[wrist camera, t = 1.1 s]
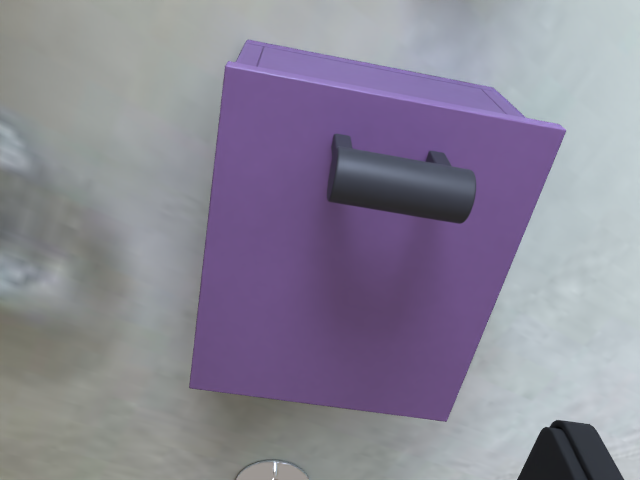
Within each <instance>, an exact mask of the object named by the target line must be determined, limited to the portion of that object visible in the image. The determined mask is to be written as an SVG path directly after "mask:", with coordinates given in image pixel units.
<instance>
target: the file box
mask: <svg viewBox="0 0 640 480" xmlns="http://www.w3.org/2000/svg"><path fill="white" fill-rule="evenodd" d="M235 63H241V64H246V65H251V66H256V67H262V68H267V69H272V70H277V71H283V72H288V73H293V74H298V75H304V76H309V77H314V78H319V79H325V80H330V81H335V82H340V83H346V84H351V85H356V86H361V87H366V88H372V89H377V90H382V91H387V92H393V93H398V94H403V95H408V96H414V97H419V98H424V99H429V100H435V101H440V102H445V103H450V104H456V105H461V106H466V107H471V108H477V109H482V110H487V111H492V112H497V113H503V114H508V115H513V116H518V117H524V118H526V117H525V116H524V115H522V114H521V113H520V112H519V111H518V110H517V109H516V108H515V107H514V106H513V105H512V104H511V103H510V102H508V101H507V100H506V99H505V98H504V97H503V96H502V95H501V94H500V93H499V92H497V91H496V90H495V89H494V88H492V87H487V86H482V85H477V84H472V83H467V82H462V81H457V80H451V79H446V78H441V77H436V76H431V75H426V74H421V73H416V72H411V71H405V70H400V69H395V68H390V67H385V66H380V65H375V64H370V63H365V62H359V61H354V60H349V59H344V58H339V57H334V56H329V55H324V54H318V53H313V52H308V51H303V50H298V49H293V48H288V47H283V46H278V45H272V44H267V43H262V42H257V41H252V40H247V41H246V43H245V45H244V47H243V49H242V50H241V52H240V54H239V56H238V58H237V60H236V62H235Z"/></svg>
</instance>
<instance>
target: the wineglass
mask: <svg viewBox="0 0 640 480" xmlns="http://www.w3.org/2000/svg"><path fill="white" fill-rule="evenodd" d="M236 480H310V479H309V477H308V475H307V474H306V473H305V472H304V471H303V470H302V469H301V468H299V467H298V466H296V465H294V464H291V463H289V462H285V461H279V460H265V461H260V462H256V463H253V464H251V465H249V466H247V467H246V468H244V469H243V470H242V471H241V472H240V473H239V474H238V476H237V478H236Z"/></svg>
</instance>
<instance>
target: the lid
mask: <svg viewBox="0 0 640 480" xmlns="http://www.w3.org/2000/svg"><path fill="white" fill-rule="evenodd" d="M565 133H566V130H565V129H564V128H563V127H562V126H561V125H559V124H555V123H550V122H545V121H539V120H534V119H529V118H524V117H518V116H513V115H508V114H503V113H497V112H492V111H487V110H482V109H477V108H471V107H466V106H461V105H456V104H450V103H445V102H440V101H435V100H429V99H424V98H419V97H414V96H408V95H403V94H398V93H393V92H387V91H382V90H377V89H372V88H366V87H361V86H356V85H351V84H346V83H340V82H335V81H330V80H325V79H319V78H314V77H309V76H304V75H298V74H293V73H288V72H283V71H277V70H272V69H267V68H262V67H256V66H251V65H246V64H241V63H235V62H230V61H228V62H227V64H226V66H225V73H224V81H223V90H222V99H221V108H220V117H219V126H218V135H217V144H216V153H215V162H214V171H213V180H212V188H211V197H210V206H209V215H208V224H207V233H206V242H205V251H204V260H203V269H202V278H201V287H200V296H199V304H198V313H197V322H196V331H195V340H194V349H193V358H192V367H191V376H190V385H189V388H192V389H199V390H207V391H215V392H222V393H230V394H238V395H245V396H253V397H261V398H268V399H276V400H284V401H291V402H299V403H307V404H315V405H322V406H330V407H338V408H345V409H353V410H361V411H368V412H376V413H384V414H391V415H399V416H407V417H414V418H422V419H430V420H437V421H445V422H446V421H447V419H448V417H449V414H450V412H451V410H452V407H453V405H454V402H455V400H456V397H457V395H458V393H459V390H460V388H461V385H462V383H463V380H464V378H465V376H466V373H467V371H468V368H469V366H470V363H471V361H472V359H473V356H474V354H475V351H476V349H477V346H478V344H479V342H480V339H481V337H482V334H483V332H484V329H485V327H486V325H487V322H488V320H489V317H490V315H491V312H492V310H493V308H494V305H495V303H496V300H497V298H498V295H499V293H500V291H501V288H502V286H503V283H504V281H505V278H506V276H507V274H508V271H509V269H510V266H511V264H512V261H513V259H514V257H515V254H516V252H517V249H518V247H519V244H520V242H521V240H522V237H523V235H524V232H525V230H526V227H527V225H528V222H529V220H530V218H531V215H532V213H533V210H534V208H535V205H536V203H537V201H538V198H539V196H540V193H541V191H542V188H543V186H544V184H545V181H546V179H547V176H548V174H549V171H550V169H551V167H552V164H553V162H554V159H555V157H556V154H557V152H558V150H559V147H560V145H561V142H562V140H563V137H564V135H565Z"/></svg>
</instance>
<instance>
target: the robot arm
mask: <svg viewBox="0 0 640 480" xmlns="http://www.w3.org/2000/svg"><path fill="white" fill-rule="evenodd" d="M517 480H624V479H623V477H622V475H621V473H620V472H619V470H618V468H617V466H616V464H615V463H614V461H613V459H612V457H611V456H610V454H609V452H608V450H607V448H606V447H605V445H604V443H603V441H602V440H601V438H600V436H599V434H598V432H597V431H596V430H595V428H594V427H593V426H591V425H590V424H584V423H576V422H569V421H561V420H556V421H554V422H553V423H552V424H551V426H550V427H545V428H543V429H542V430H541V432H540V434H539V436H538V438H537V440H536V442H535V444H534V446H533V448H532V450H531V452H530V454H529V457H528V459H527V461H526V463H525V465H524V467H523V469H522V471H521V473H520V475H519V477H518V479H517Z"/></svg>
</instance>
